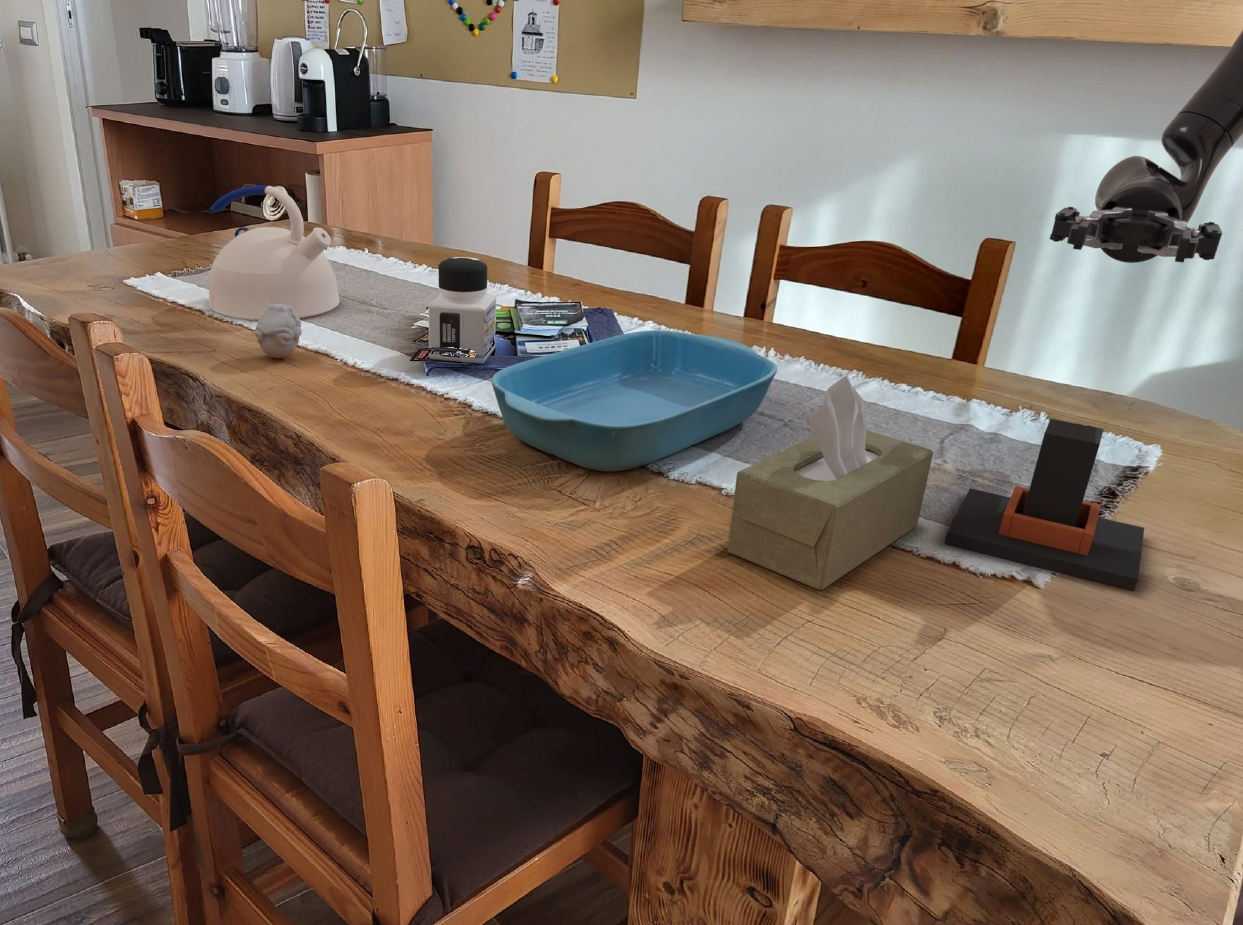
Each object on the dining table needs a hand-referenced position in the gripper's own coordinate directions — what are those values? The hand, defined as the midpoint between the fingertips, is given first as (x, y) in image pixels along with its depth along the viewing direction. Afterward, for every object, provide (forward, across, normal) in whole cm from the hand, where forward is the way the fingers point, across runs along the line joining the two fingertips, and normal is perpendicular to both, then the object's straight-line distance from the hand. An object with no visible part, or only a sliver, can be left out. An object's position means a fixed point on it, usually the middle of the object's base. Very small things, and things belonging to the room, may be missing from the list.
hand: (1129, 244), depth 96 cm
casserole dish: (+7, +45, -26) cm, 53 cm away
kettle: (-9, +115, -26) cm, 119 cm away
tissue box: (+23, +18, -26) cm, 39 cm away
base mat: (+11, 0, -26) cm, 28 cm away
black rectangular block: (+11, 0, -25) cm, 27 cm away
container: (-5, +77, -26) cm, 81 cm away
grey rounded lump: (+11, +96, -26) cm, 100 cm away
